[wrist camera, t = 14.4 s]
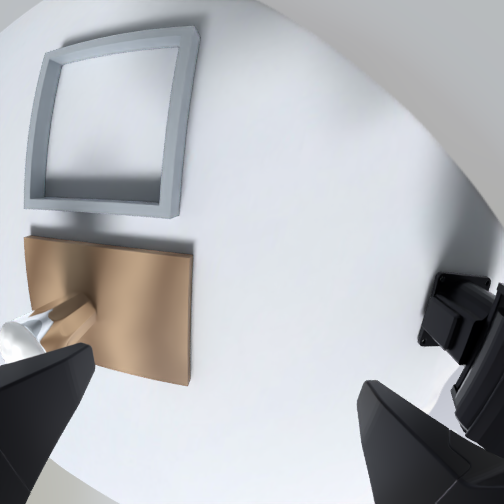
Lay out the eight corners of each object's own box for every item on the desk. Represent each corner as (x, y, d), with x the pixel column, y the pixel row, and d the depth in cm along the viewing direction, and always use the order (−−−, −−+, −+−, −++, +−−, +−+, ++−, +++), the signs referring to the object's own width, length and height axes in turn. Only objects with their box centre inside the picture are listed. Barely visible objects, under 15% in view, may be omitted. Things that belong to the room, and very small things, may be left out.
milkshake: (63, 266, 21) (-24, 311, 11) (111, 306, 21) (35, 373, 12) (50, 305, 22) (-25, 356, 12) (93, 342, 22) (28, 411, 13)
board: (193, 254, 21) (189, 258, 20) (190, 379, 24) (187, 386, 23) (30, 235, 22) (23, 237, 21) (44, 341, 24) (39, 345, 23)
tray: (200, 37, 18) (194, 25, 16) (178, 215, 21) (170, 218, 19) (57, 59, 18) (45, 52, 16) (38, 206, 21) (23, 208, 19)
